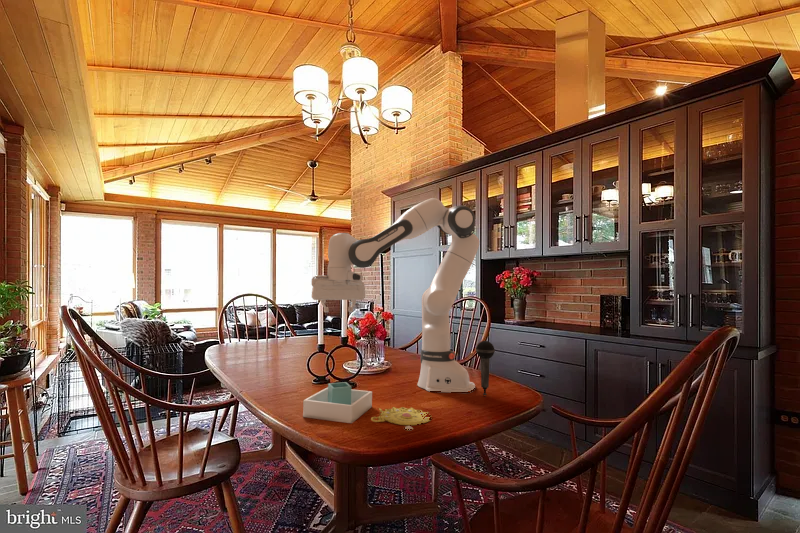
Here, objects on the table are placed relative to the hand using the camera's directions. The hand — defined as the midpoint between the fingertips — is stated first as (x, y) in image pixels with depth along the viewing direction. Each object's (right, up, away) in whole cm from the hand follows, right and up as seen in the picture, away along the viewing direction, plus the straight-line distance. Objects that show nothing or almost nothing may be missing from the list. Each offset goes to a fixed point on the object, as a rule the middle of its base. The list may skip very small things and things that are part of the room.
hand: (338, 311), depth 154 cm
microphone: (+54, -30, -7) cm, 62 cm away
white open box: (+4, -29, -26) cm, 39 cm away
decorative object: (+24, -29, -31) cm, 49 cm away
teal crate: (+4, -28, -26) cm, 38 cm away
